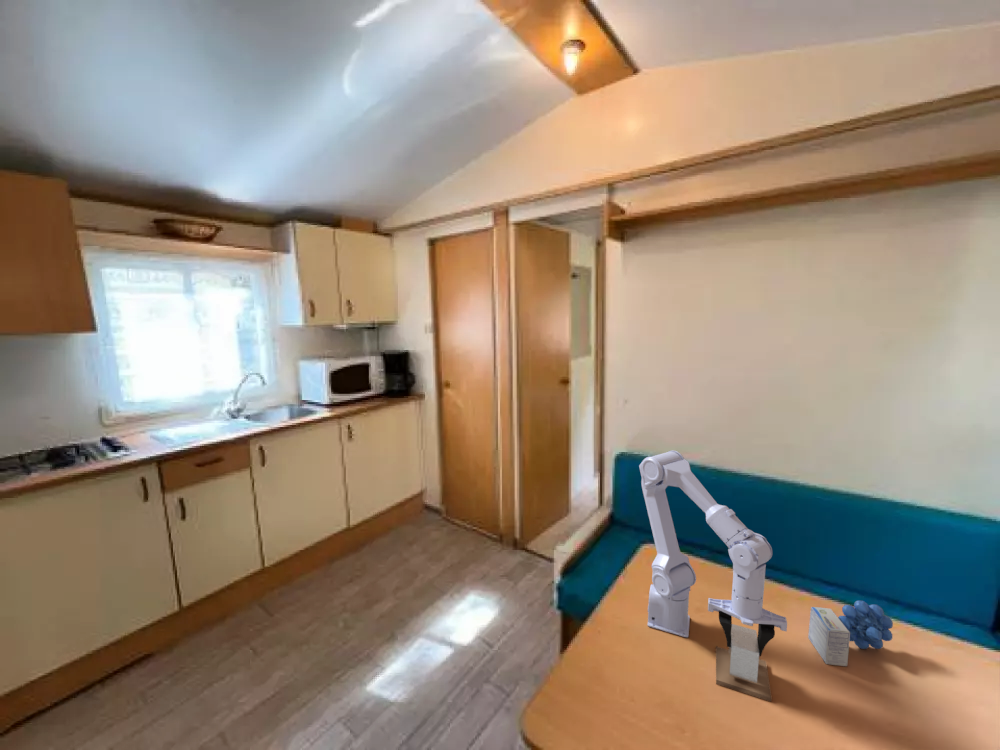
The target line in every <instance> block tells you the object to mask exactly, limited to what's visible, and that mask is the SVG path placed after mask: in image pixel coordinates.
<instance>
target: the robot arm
mask: <svg viewBox="0 0 1000 750" xmlns="http://www.w3.org/2000/svg"><path fill="white" fill-rule="evenodd" d="M638 467H639V472H640V476H641V481H640V483H641V489H642V494H643V498H644V502H645V506H646V507H645V508H646V510H647V511H646V512H647V516H648V519H649V524H650V527H651V532H652V536H653V541H654V546H655V549H656V556H655V558H654V560H653V561H652V563H651V569H652V574H651V575H652V576H651V581H652V583H651V584H650V586H649V593H648V605H647V613H648V614H647V627H650V628H653V629H655V630H660V631H663V632H666V633H669V634H673V635H677V636H680V637H683V638H689V633H690V632H689V631H690V617H691V616H690V615H689V602H690V601H689V600H690V597H689V596H690V592H691V587H692V586H695V584H696V582H697V575H696V572H695V570H694V568H693V567H692V565H691V563H690V560H689V559H690V558H689V556H688V555H686V554H685V553H683V552H681V549H680V547H679V542H678V539H677V533H676V529H675V526H674V521H673V517H672V513H671V510H670V505H669V501H668V496H667V493H666V489H667V488H668V487H675V488H679V489H681V491H683V493H684V494H685V495H686V496H688V498H689V499H690V500H691V501H693V502H694V504H696V506H697V507H698V508H699V509H701V510H702V512H703V513H704V514H705V521H706V524H707V525H708V526H709V527H710V528H711V529H712V530H713V531H714V533H715V534H716V535H717V537H719V539H720V540H721V541H722V542H723V543H724V544H725V545H726V546H727V548H728V549H727V551H728V555H729V558H730V560H731V562H732V573H733V574H732V584H731V585H732V586H731V587H732V588H731V599H719V598H710V597H708V602H707V611H708V612H709V613H710V612H711V613H714V612H717V613H718V621H719V623H720V626H721V628H722V630H723V632H724V636H725V639H726V647H728V648H729V647H730V648H731V628H732V624H733V621H732V618H735V619H737V620H740V621H741V624H742V625H746V626H749V627H753V626H754V624H757V625H758V627H757V628H758V630H757V631H758V632H757V640H758V648H759V657H761V656H762V653H763V652H764V649H765V647H766V646H767V644H768V643H769V642H770V641H771V640H772V639H774V637H775V634H776V632H775V631H776V630H775V628H779V629H780V631H783V632H787V631H788V621H787V620H788V619H787V617H786V616H783V615H780V614H777V613H774V612H772V611H771V610H768V609H765V608H763V604H764V591H765V580H766V579H765V578H766V566H767V564H766V563H767V562H769V560H771V559H772V557H773V548H772V545H771V544H770V543H769V542H768V540H767V538H766V537H765V536H763V535H762V534H760V533H757V532H754V531H753V530H752V529H749V528H748V527H747V526H746V525H745V524H744V523H743V522H742V521H741V520H740V519H739V517H738V516H736V512H735V511H734V510H733V509H732V508H729V507H728V506H727V505H724V504H723V505H722V504H719V503H717V501H716V500H715V499H714V498H713V496H712V495H711V494H710V493H709V492H708V490H707V489H706V488H705V486H704V485H703V484H702V483H701V481H700V480H699V479H698V478H697V477H696V475H695V474H694V473H693V472H692V470H691V465H690V462H689V461H688V460H686V459H685V458H684V456H683V455H682V453H680V452H679V451H677V450H669V451H667V452H663V453H659V454H656V455H652V456H647V457H645V458H644V459H643V460H642V461H641V463H640V464H639V465H638Z"/></svg>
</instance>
